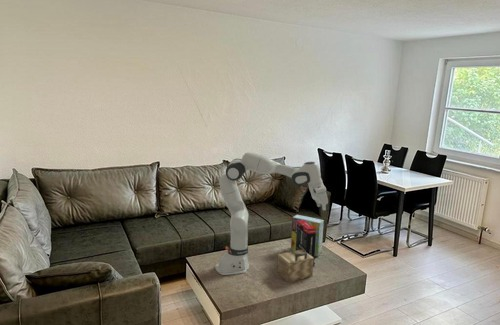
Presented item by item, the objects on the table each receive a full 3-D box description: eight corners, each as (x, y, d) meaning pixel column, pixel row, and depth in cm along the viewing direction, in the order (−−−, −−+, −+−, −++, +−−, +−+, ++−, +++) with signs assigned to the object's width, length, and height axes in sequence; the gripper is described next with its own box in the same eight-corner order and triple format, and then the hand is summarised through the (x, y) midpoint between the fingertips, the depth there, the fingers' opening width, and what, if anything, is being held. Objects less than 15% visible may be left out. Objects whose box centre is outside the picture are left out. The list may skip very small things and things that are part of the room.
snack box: (322, 253, 255) (324, 219, 250) (317, 257, 248) (320, 223, 243) (295, 245, 266) (296, 213, 261) (290, 250, 259) (291, 216, 254)
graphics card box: (314, 266, 235) (317, 228, 230) (305, 267, 233) (307, 229, 228) (303, 255, 251) (305, 219, 246) (294, 256, 249) (296, 220, 244)
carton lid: (289, 263, 212) (289, 256, 211) (278, 255, 224) (278, 248, 223) (313, 258, 220) (314, 251, 219) (301, 250, 231) (302, 243, 231)
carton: (288, 282, 215) (289, 264, 212) (277, 272, 226) (278, 255, 224) (312, 276, 222) (313, 258, 220) (300, 267, 234) (301, 250, 232)
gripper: (306, 185, 224) (311, 205, 226) (317, 191, 204) (322, 213, 206) (315, 182, 225) (320, 203, 227) (327, 188, 204) (332, 210, 206)
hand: (321, 208), depth 216 cm, fingers open, 8 cm apart
